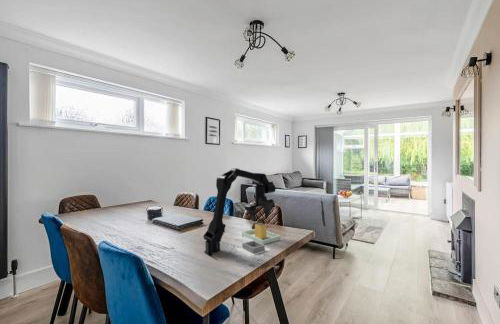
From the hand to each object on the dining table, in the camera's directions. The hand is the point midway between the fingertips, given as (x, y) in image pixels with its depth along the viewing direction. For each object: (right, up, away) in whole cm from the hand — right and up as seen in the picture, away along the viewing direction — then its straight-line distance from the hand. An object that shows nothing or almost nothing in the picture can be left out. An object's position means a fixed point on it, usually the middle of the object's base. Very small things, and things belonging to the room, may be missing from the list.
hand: (260, 220), depth 149 cm
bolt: (-1, -11, +23) cm, 25 cm away
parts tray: (0, -11, 0) cm, 11 cm away
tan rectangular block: (0, -10, 0) cm, 10 cm away
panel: (-4, -11, -19) cm, 23 cm away
